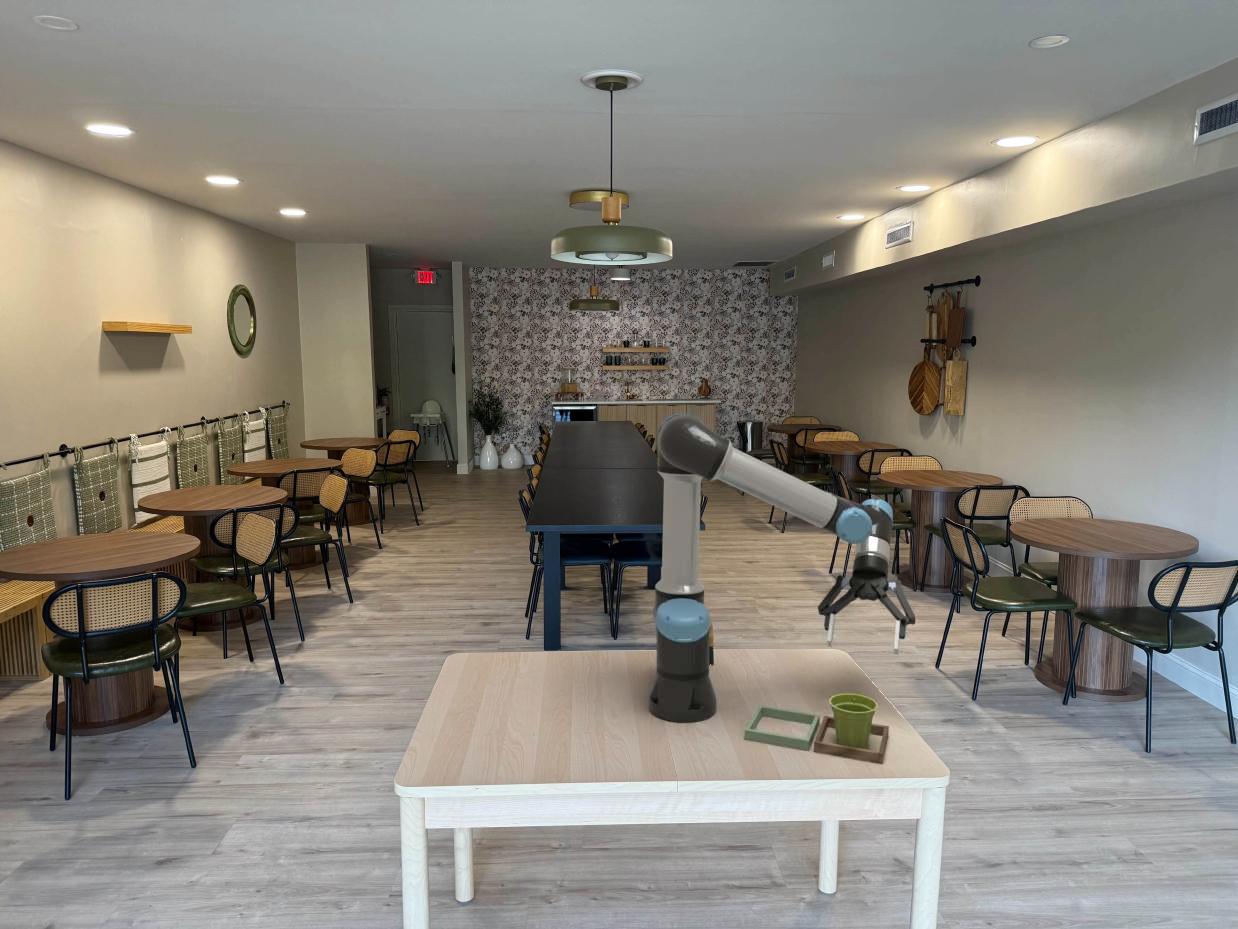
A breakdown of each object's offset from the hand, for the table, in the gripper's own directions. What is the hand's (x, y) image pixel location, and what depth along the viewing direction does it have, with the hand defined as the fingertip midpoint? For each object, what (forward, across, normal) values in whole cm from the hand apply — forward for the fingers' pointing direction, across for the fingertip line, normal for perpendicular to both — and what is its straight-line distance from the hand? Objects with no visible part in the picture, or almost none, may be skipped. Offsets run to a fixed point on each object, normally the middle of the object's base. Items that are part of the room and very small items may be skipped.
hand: (862, 647), depth 171 cm
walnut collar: (+19, 0, -4) cm, 20 cm away
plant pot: (+19, 0, -4) cm, 20 cm away
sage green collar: (+19, +14, -4) cm, 24 cm away
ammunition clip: (-1, +44, -24) cm, 50 cm away
